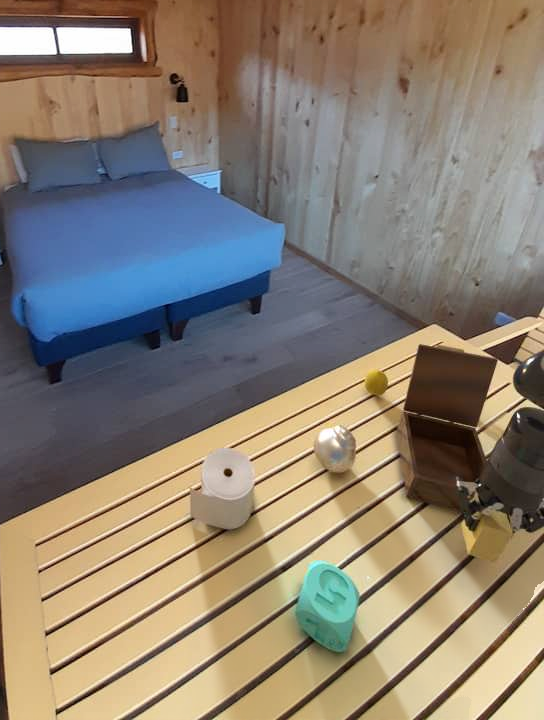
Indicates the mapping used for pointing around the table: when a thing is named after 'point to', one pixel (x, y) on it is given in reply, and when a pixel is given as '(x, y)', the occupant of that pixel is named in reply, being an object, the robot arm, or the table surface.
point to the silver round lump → (335, 449)
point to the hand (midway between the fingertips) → (484, 530)
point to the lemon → (376, 382)
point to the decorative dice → (328, 605)
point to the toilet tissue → (224, 490)
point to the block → (488, 536)
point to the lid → (449, 384)
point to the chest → (438, 458)
